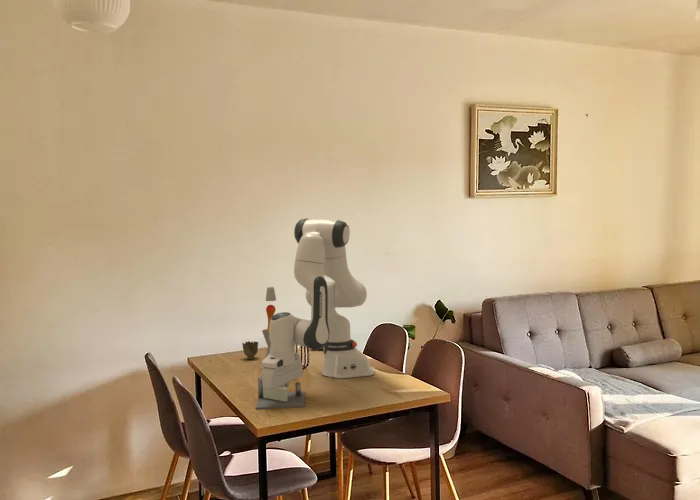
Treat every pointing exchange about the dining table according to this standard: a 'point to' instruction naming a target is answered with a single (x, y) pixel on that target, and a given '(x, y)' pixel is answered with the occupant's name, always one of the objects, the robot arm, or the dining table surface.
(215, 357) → the dining table surface
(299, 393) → the posts
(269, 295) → the lava lamp
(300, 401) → the yard mat
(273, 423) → the dining table surface
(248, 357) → the cup
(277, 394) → the cream plank
